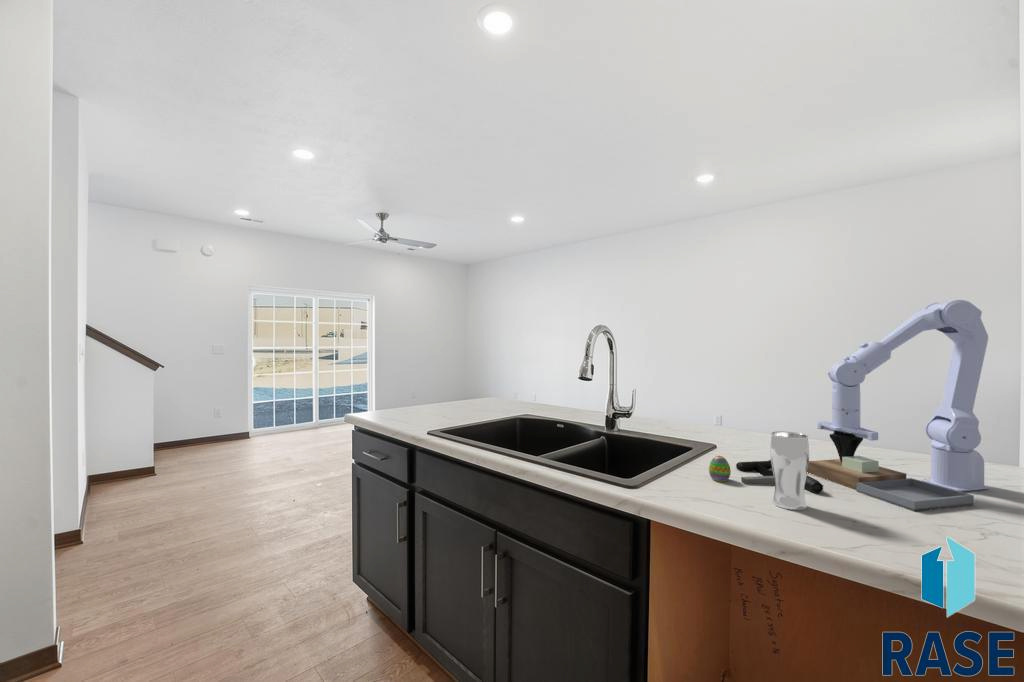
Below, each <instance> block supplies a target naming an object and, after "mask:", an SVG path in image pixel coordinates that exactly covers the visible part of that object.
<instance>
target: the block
mask: <svg viewBox="0 0 1024 682" xmlns="http://www.w3.org/2000/svg"><path fill="white" fill-rule="evenodd" d="M842 467H844V468H848V469H851V470H854V471H858V472H861V473H865V472H877V471H879V460H876V459H872V458H868V457H864V456H860V455H854V456H848V457H842Z"/></svg>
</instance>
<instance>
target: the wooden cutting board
mask: <svg viewBox="0 0 1024 682" xmlns="http://www.w3.org/2000/svg"><path fill="white" fill-rule="evenodd" d="M809 473H811V474H814V475H817V476H819V477H818V478H820V477H822V478H821V479H823V478H825V479H824V480H826V479H828V480H827V481H829V480H831V481H830V482H832V481H833V482H832V483H835V482H836V484H838V483H839V484H838V485H841V484H842V485H841V486H844V487H847V488H849V489H852V488H853V490H855V489H856V491H857V483H860V482H871V481H883V480H894V479H906V478H907V473H906V472H901V471H898V470H895V469H891V468H887V467H884V466H879V471H877V472H865V473H861V472H858V471H854V470H851V469H848V468H844V467H842V462H841V461H840V458H835V459H833V458H832V459H823V460H822V459H821V460H820V459H819V460H809V467H808V473H807V474H809ZM811 474H810V475H811ZM814 475H813V476H814ZM817 476H816V477H817Z"/></svg>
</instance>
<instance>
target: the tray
mask: <svg viewBox="0 0 1024 682" xmlns="http://www.w3.org/2000/svg"><path fill="white" fill-rule="evenodd" d="M856 492H857V493H860V494H863V495H866V496H868V497H872V498H875V499H878V500H881V501H884V502H886V503H889V504H892V505H894V504H895V506H897V505H898V506H897V507H900V506H901V507H900V508H903V507H904V508H903V509H906V508H907V509H906V510H910V511H912V512H922V511H931V510H930V509H932V510H939V509H938V508H941V509H948V508H947V507H950V508H957V507H958V506H960V507H966V505H969V506H974V505H975V502H974V501H975V498H974V497H975V496H974V495H973V494H971V493H966V492H964V491H961V492H959V491H956V490H952V489H949V488H945V487H941V486H938V485H934V484H931V483H927V482H924V481H921V479H915V478H913V477H910V478H909V477H908V478H907V477H906V479H894V480H883V481H871V482H860V483H857V490H856ZM973 504H974V505H973ZM958 508H959V507H958Z"/></svg>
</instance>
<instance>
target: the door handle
mask: <svg viewBox="0 0 1024 682" xmlns="http://www.w3.org/2000/svg"><path fill="white" fill-rule="evenodd" d="M735 467H736V469H737V470H738V471H739V472H756V473H757V474H759V473H760V474H759V475H758V476H741V477H740V479H741V483H742V484H744V485H757V486H758V485H760V486H762V485H764V486H773V485H774V486H775V481H774V475H773V470H772V465H771V459H769V460H760V461H758V460H757V461H756V460H755V461H754V460H753V461H740V462H739V461H738V462H736V464H735ZM824 486H825V485H823V484H822V483H821V482H820V481H819V480H818V479H815V478H813V477H812V476H809V475H808V474H807V477H806V482H805V488H804V490H805V489H806V490H807V491H808V492H811V493H815V494H820V493H821V492H822V491H823V490H824Z"/></svg>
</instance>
